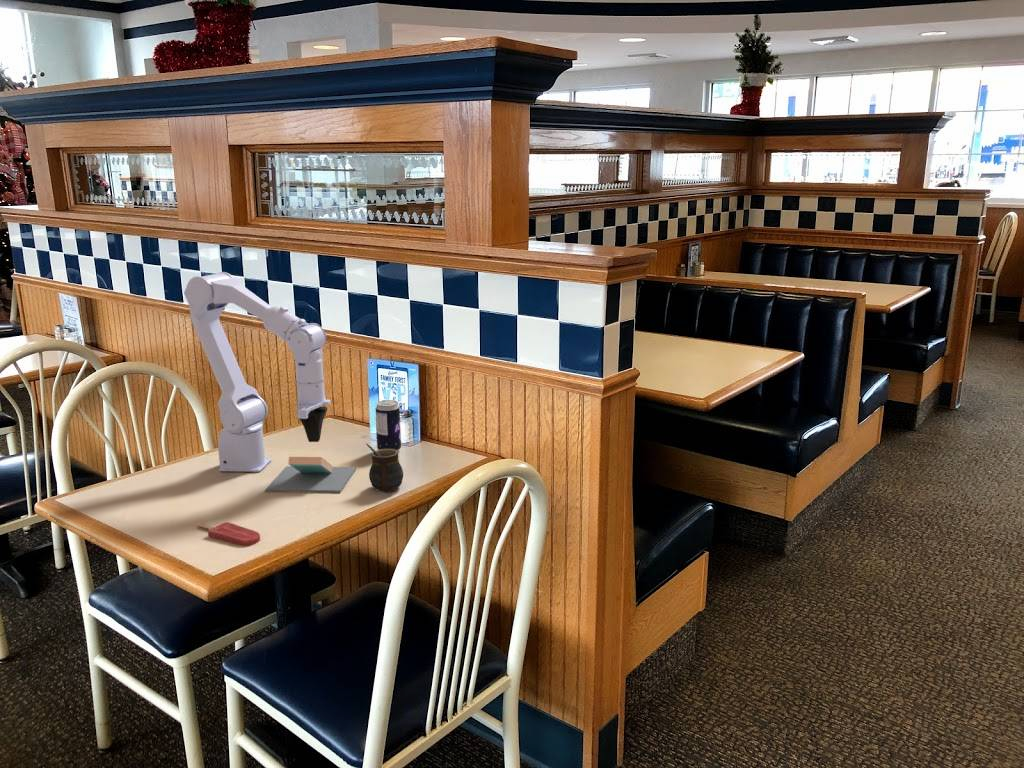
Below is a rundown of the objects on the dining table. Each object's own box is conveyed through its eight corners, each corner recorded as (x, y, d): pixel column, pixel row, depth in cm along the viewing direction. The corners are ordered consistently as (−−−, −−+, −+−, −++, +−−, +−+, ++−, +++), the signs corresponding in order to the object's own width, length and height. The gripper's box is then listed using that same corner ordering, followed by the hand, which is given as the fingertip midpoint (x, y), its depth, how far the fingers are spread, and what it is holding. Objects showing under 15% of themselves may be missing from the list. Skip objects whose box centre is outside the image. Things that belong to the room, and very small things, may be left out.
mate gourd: (403, 494, 170) (400, 448, 168) (366, 495, 170) (363, 450, 167) (405, 481, 177) (403, 437, 175) (370, 482, 177) (367, 438, 174)
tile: (300, 473, 181) (288, 465, 173) (301, 465, 182) (289, 456, 173) (331, 473, 181) (320, 465, 172) (332, 465, 182) (321, 457, 173)
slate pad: (265, 491, 172) (265, 489, 172) (286, 468, 186) (286, 466, 185) (340, 492, 171) (340, 490, 171) (356, 469, 185) (356, 467, 185)
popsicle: (207, 515, 157) (265, 532, 150) (208, 524, 157) (266, 541, 150) (188, 524, 153) (246, 542, 146) (189, 532, 153) (247, 550, 146)
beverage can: (399, 454, 194) (397, 406, 191) (375, 454, 194) (373, 406, 191) (402, 447, 200) (401, 399, 197) (379, 447, 200) (377, 399, 197)
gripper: (319, 389, 169) (323, 452, 172) (337, 373, 183) (340, 431, 186) (285, 389, 169) (290, 451, 173) (305, 372, 183) (309, 430, 187)
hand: (314, 441), depth 179 cm, fingers closed
